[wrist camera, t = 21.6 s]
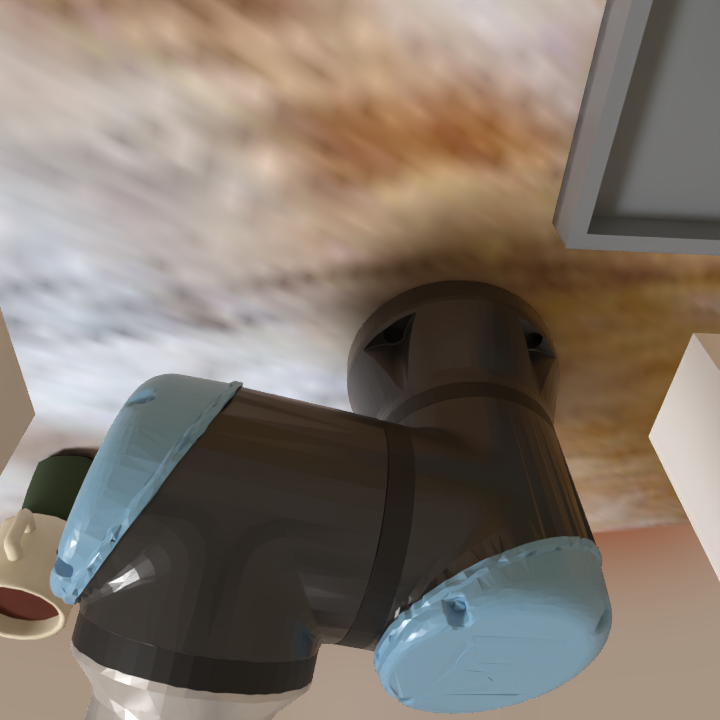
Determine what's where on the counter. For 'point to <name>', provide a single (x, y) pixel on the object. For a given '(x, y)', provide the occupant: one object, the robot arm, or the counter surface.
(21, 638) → the character mug
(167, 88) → the counter surface
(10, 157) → the counter surface
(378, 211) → the counter surface
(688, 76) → the walled tray
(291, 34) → the counter surface
